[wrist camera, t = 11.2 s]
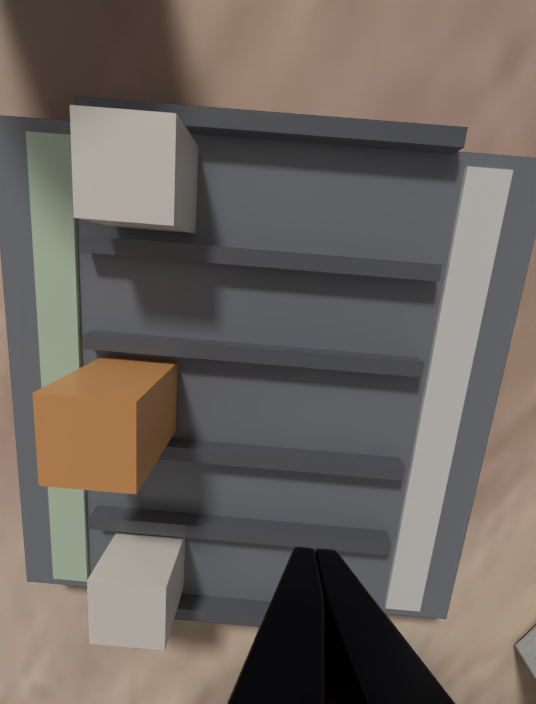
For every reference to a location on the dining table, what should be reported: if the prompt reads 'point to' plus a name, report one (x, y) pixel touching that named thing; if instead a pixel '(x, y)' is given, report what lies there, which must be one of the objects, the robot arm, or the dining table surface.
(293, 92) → the dining table surface
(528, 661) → the supplement box
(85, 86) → the dining table surface
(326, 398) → the board
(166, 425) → the handle
